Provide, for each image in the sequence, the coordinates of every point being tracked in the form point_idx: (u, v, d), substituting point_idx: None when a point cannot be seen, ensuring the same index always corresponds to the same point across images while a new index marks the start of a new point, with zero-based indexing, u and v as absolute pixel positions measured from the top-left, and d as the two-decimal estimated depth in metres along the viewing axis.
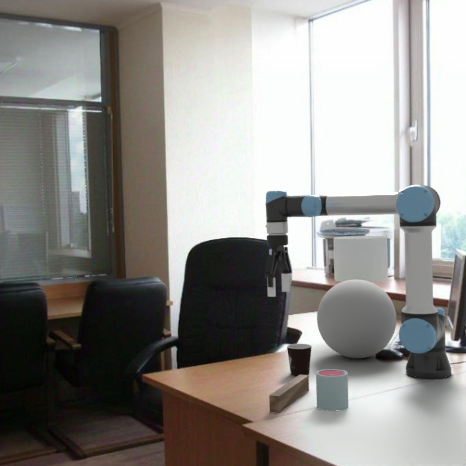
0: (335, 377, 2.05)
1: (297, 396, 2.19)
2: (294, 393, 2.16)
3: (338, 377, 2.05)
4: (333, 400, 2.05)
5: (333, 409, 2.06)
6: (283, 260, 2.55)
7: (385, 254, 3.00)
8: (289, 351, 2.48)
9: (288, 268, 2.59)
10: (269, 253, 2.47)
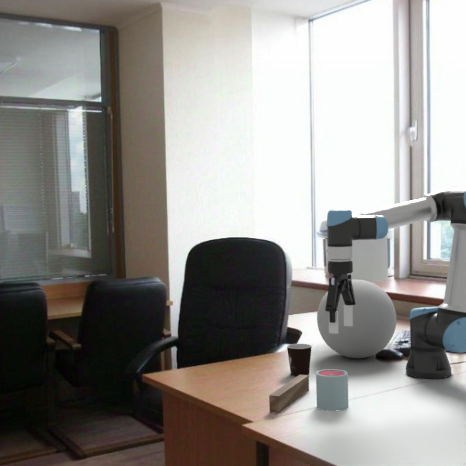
0: (335, 377, 2.05)
1: (297, 396, 2.19)
2: (294, 393, 2.16)
3: (338, 377, 2.05)
4: (333, 400, 2.05)
5: (333, 409, 2.06)
6: (346, 290, 2.20)
7: (385, 254, 3.00)
8: (289, 351, 2.48)
9: (351, 299, 2.23)
10: (331, 283, 2.12)
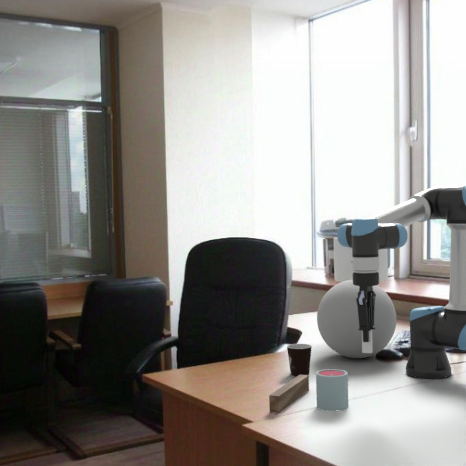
0: (335, 377, 2.05)
1: (297, 396, 2.19)
2: (294, 393, 2.16)
3: (338, 377, 2.05)
4: (333, 400, 2.05)
5: (333, 409, 2.06)
6: None
7: (385, 254, 3.00)
8: (289, 351, 2.48)
9: (372, 322, 2.08)
10: (359, 303, 2.02)
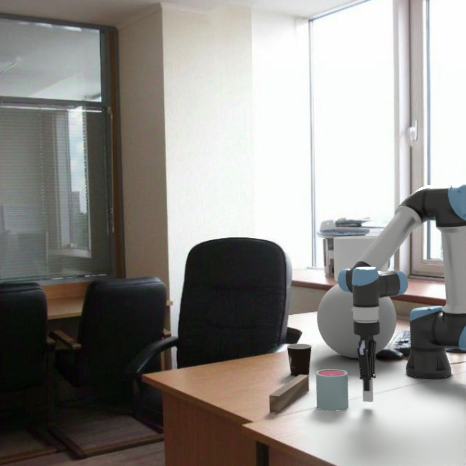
0: (335, 377, 2.05)
1: (297, 396, 2.19)
2: (294, 393, 2.16)
3: (338, 377, 2.05)
4: (333, 400, 2.05)
5: (333, 409, 2.06)
6: None
7: None
8: (289, 351, 2.48)
9: (372, 370, 2.08)
10: (360, 353, 2.02)
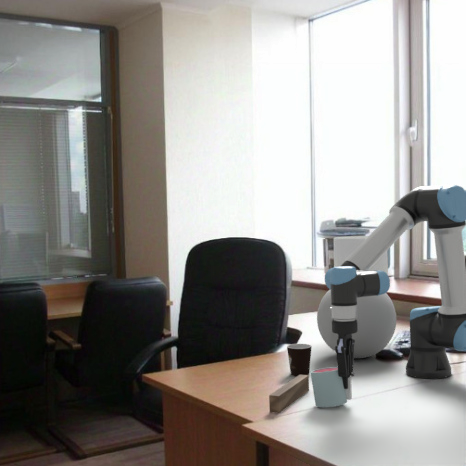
0: (329, 372, 2.06)
1: (297, 396, 2.19)
2: (294, 393, 2.16)
3: (332, 372, 2.06)
4: (329, 396, 2.06)
5: (331, 405, 2.06)
6: None
7: (385, 254, 3.00)
8: (289, 351, 2.48)
9: (351, 368, 2.11)
10: (338, 352, 2.05)
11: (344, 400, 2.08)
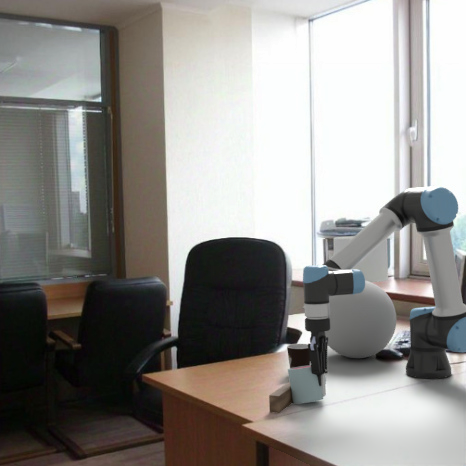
0: (301, 369, 2.10)
1: None
2: None
3: (304, 369, 2.10)
4: (302, 392, 2.10)
5: (303, 401, 2.09)
6: None
7: (385, 254, 3.00)
8: (289, 351, 2.48)
9: (324, 366, 2.14)
10: (311, 349, 2.08)
11: (318, 397, 2.10)
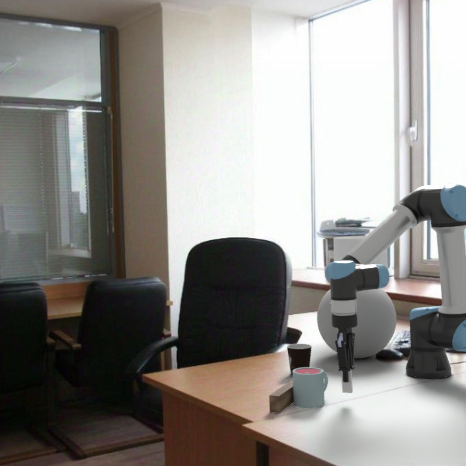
0: (307, 375, 2.09)
1: None
2: None
3: (310, 375, 2.08)
4: (305, 398, 2.09)
5: (305, 406, 2.09)
6: None
7: (385, 254, 3.00)
8: (289, 351, 2.48)
9: (351, 362, 2.12)
10: (338, 346, 2.06)
11: (320, 404, 2.10)
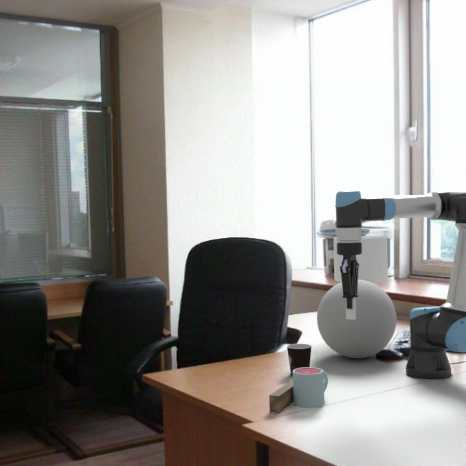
0: (307, 375, 2.09)
1: None
2: None
3: (310, 375, 2.08)
4: (305, 398, 2.09)
5: (305, 406, 2.09)
6: None
7: (385, 254, 3.00)
8: (289, 351, 2.48)
9: (355, 290, 2.18)
10: (343, 271, 2.11)
11: (320, 404, 2.10)
